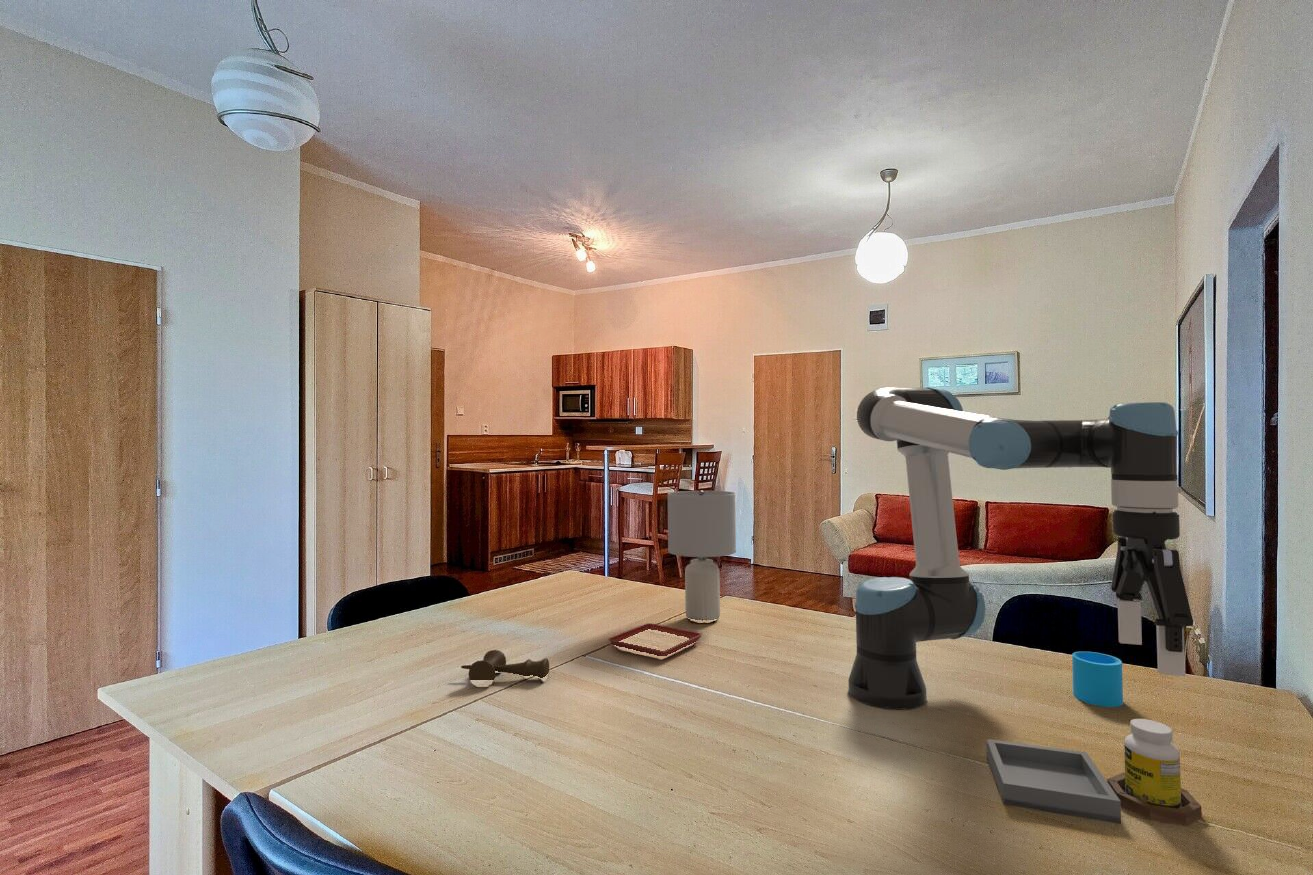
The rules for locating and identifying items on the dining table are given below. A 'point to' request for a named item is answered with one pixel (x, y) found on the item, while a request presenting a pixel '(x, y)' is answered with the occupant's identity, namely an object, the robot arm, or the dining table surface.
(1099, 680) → the mug
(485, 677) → the kendama
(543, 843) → the dining table surface
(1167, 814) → the collar socket
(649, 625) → the plant saucer
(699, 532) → the lamp
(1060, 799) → the tray
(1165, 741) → the pill bottle
